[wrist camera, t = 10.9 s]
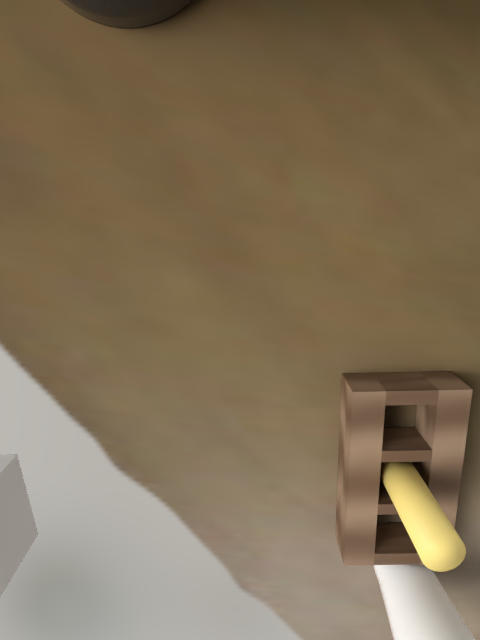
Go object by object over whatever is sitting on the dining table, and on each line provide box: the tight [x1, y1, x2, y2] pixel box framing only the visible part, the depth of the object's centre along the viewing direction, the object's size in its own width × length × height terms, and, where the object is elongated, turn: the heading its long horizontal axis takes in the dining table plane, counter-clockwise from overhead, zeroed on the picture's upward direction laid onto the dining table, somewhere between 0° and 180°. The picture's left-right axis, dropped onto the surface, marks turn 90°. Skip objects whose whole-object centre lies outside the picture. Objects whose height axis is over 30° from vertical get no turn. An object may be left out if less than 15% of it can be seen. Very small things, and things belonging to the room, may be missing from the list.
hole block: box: [335, 371, 473, 566], centre depth 40 cm, size 18×10×4 cm, turn 1°
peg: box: [380, 462, 466, 572], centre depth 36 cm, size 3×3×12 cm
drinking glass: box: [374, 564, 476, 640], centre depth 38 cm, size 7×7×15 cm
